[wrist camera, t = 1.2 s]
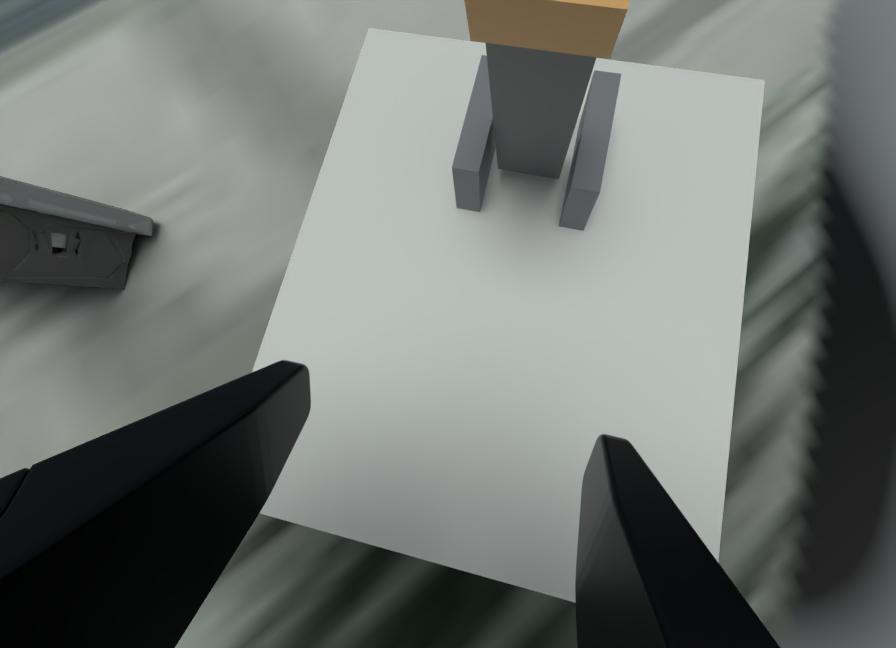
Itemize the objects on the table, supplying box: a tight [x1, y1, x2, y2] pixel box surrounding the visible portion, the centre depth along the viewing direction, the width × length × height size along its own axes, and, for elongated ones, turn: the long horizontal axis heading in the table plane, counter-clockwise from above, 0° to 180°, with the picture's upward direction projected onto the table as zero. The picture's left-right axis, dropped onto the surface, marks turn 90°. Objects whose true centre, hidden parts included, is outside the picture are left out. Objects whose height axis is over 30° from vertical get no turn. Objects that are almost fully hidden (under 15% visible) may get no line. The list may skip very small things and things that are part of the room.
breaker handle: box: [465, 0, 629, 179], centre depth 14 cm, size 2×3×11 cm, turn 77°
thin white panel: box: [252, 28, 765, 603], centre depth 19 cm, size 22×18×6 cm
